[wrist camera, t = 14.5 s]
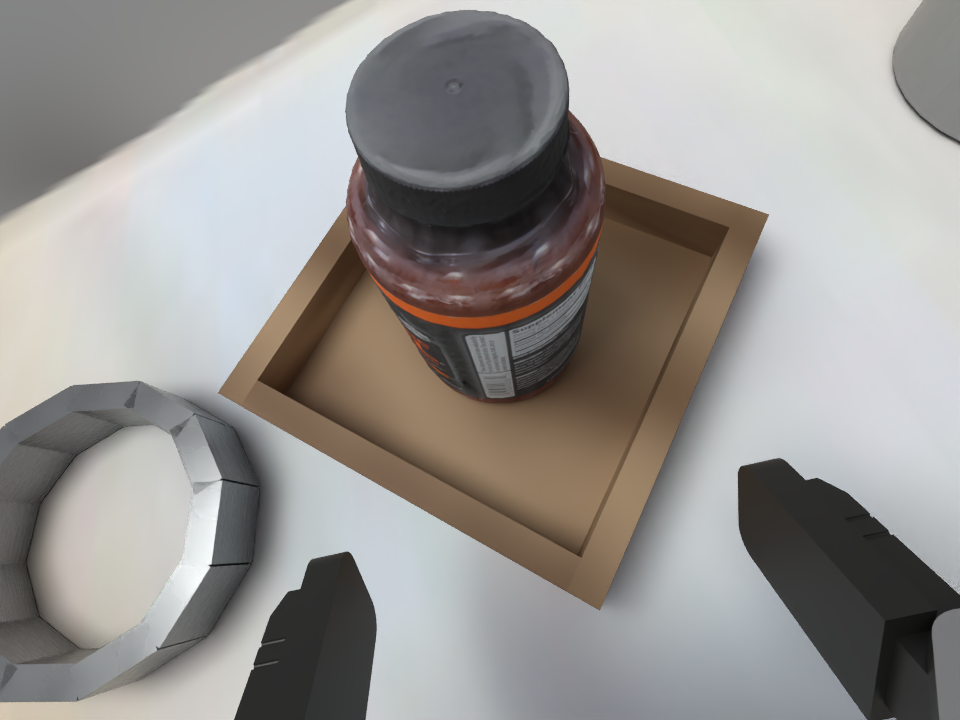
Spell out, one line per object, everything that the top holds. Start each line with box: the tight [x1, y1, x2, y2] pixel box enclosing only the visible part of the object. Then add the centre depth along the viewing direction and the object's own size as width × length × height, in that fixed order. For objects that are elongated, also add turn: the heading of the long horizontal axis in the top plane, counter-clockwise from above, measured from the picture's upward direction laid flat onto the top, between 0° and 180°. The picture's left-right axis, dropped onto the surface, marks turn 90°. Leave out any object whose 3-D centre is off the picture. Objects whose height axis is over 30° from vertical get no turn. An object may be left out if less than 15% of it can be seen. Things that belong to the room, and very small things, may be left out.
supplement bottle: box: [345, 10, 606, 403], centre depth 14 cm, size 6×6×11 cm
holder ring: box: [0, 381, 260, 702], centre depth 19 cm, size 10×10×2 cm
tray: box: [218, 157, 769, 610], centre depth 19 cm, size 14×14×3 cm
